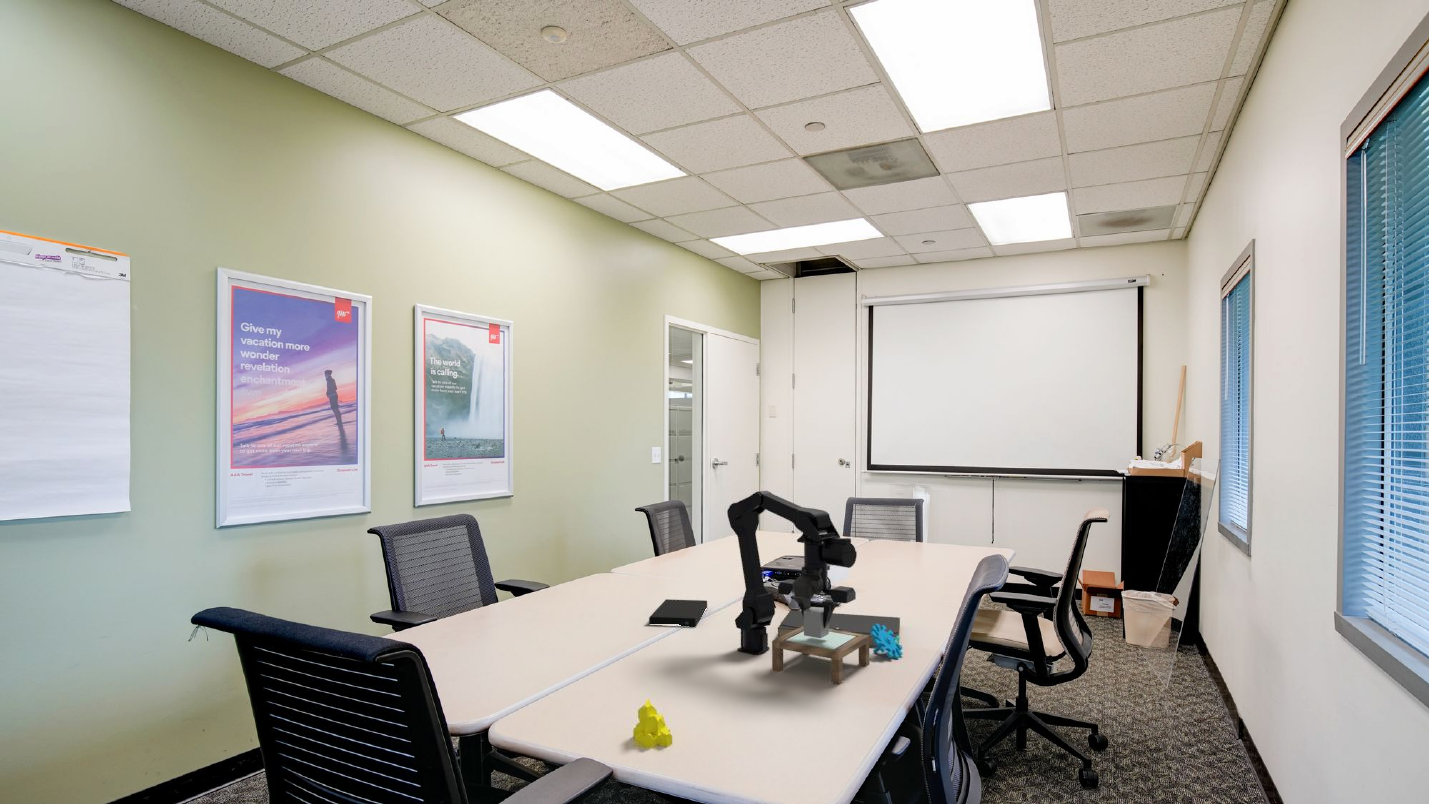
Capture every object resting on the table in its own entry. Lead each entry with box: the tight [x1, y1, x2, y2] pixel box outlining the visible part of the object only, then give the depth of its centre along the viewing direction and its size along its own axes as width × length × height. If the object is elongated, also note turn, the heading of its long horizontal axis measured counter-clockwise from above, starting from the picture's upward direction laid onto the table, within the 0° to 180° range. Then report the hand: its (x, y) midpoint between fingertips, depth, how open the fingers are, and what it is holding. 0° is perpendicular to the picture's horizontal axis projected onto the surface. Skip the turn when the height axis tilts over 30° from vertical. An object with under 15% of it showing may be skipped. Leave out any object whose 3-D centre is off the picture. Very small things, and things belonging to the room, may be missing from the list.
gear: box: [871, 624, 904, 660], centre depth 184 cm, size 11×6×10 cm
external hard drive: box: [648, 598, 708, 628], centre depth 223 cm, size 14×23×3 cm, turn 172°
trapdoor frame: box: [771, 626, 870, 685], centre depth 174 cm, size 18×18×7 cm
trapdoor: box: [785, 631, 856, 650], centre depth 174 cm, size 13×13×1 cm
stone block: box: [804, 606, 829, 638], centre depth 172 cm, size 4×4×6 cm
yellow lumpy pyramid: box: [632, 698, 673, 750], centre depth 132 cm, size 6×8×8 cm
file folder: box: [777, 610, 901, 647], centre depth 204 cm, size 33×4×24 cm
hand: (816, 626), depth 172 cm, fingers closed on stone block, 4 cm apart
